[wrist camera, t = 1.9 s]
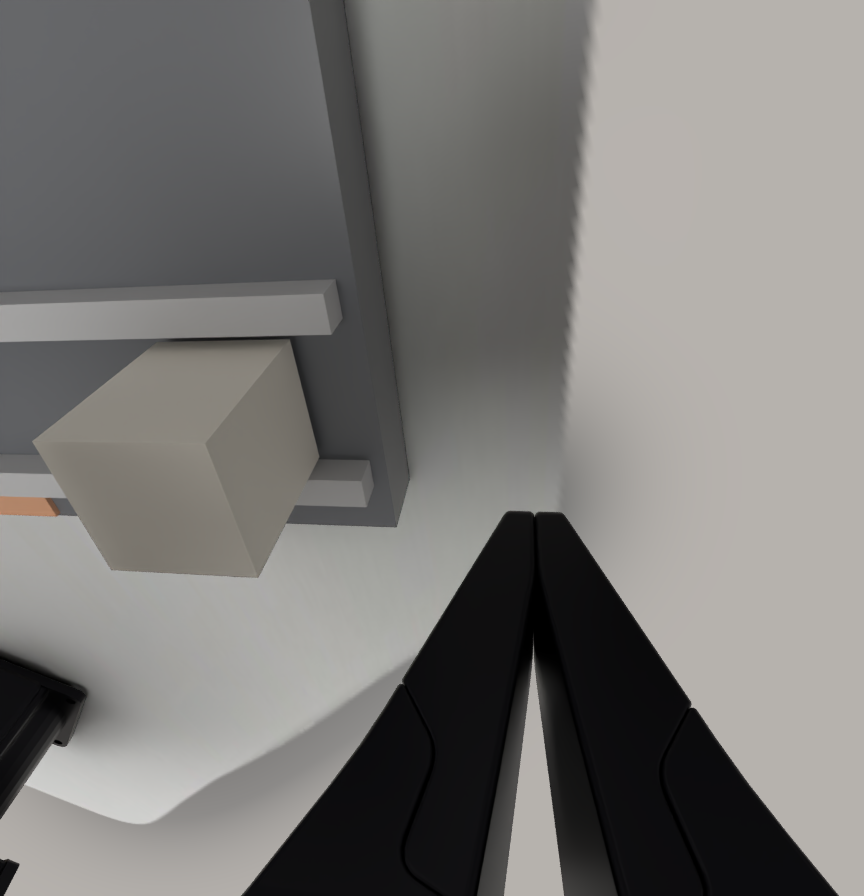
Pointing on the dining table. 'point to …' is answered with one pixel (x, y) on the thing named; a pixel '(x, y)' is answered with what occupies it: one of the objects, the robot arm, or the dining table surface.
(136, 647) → the dining table surface
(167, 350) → the tab
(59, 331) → the switch panel
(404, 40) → the dining table surface
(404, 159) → the dining table surface
